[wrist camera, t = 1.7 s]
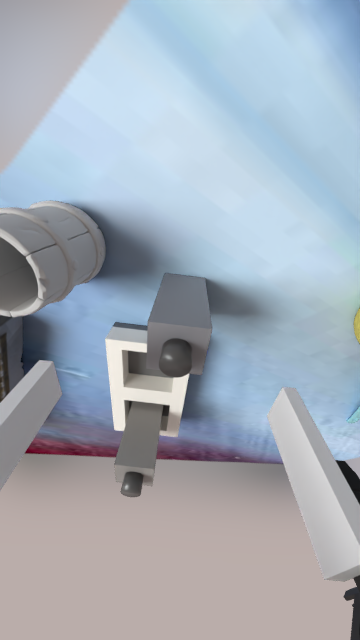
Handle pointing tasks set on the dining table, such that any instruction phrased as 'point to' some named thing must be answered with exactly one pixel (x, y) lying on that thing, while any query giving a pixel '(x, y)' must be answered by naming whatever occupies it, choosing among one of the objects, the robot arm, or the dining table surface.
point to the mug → (45, 255)
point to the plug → (179, 326)
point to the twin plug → (138, 448)
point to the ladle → (359, 333)
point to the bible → (10, 353)
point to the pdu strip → (140, 379)
